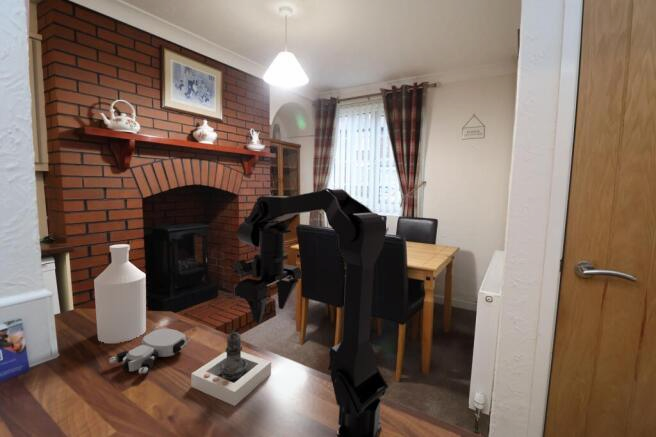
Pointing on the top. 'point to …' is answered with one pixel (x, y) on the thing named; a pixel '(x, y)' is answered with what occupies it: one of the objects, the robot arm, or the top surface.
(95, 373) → the top surface
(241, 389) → the socket block
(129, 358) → the robot toy
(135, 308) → the bottle
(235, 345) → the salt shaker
